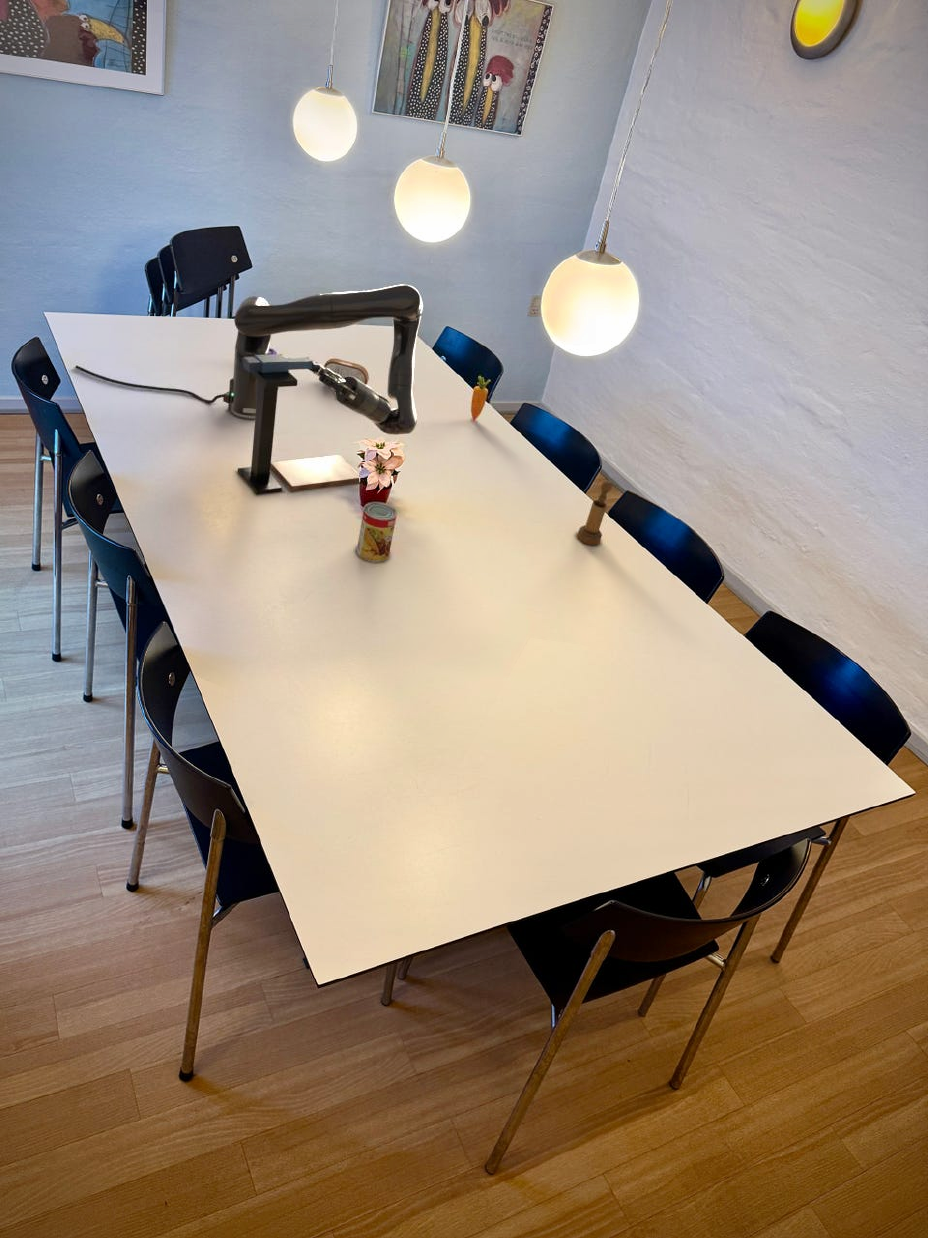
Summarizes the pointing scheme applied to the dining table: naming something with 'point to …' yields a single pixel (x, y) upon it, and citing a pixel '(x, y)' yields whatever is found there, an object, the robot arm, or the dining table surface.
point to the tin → (347, 369)
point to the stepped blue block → (277, 363)
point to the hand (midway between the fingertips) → (313, 369)
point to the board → (315, 472)
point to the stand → (265, 431)
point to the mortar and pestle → (595, 518)
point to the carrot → (479, 398)
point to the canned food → (376, 531)
